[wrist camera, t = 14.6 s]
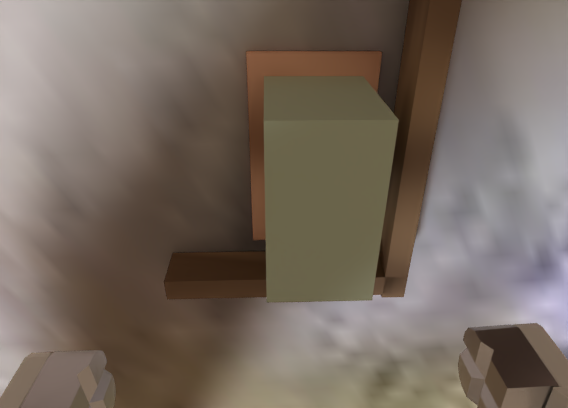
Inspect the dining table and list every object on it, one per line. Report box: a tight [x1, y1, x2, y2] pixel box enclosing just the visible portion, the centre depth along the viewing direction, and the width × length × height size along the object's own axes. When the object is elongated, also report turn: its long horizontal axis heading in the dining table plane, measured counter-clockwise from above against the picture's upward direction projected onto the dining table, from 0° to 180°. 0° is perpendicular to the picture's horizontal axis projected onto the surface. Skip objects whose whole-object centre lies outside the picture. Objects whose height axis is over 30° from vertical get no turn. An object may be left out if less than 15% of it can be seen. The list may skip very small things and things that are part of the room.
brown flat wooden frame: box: [164, 0, 462, 299], centre depth 20 cm, size 15×13×2 cm
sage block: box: [264, 76, 399, 302], centre depth 19 cm, size 4×8×6 cm, turn 179°
